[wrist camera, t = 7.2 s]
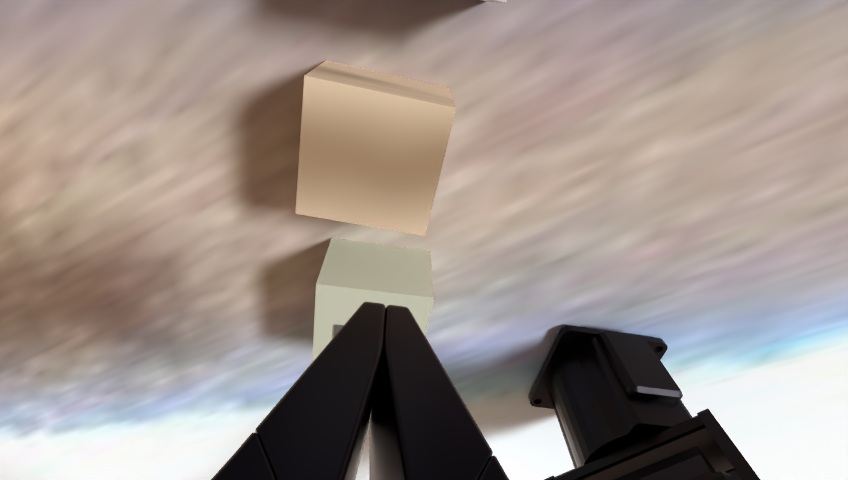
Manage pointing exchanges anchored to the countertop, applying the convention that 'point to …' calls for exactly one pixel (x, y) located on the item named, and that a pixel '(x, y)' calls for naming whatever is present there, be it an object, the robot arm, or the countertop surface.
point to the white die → (495, 0)
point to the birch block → (371, 147)
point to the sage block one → (369, 284)
